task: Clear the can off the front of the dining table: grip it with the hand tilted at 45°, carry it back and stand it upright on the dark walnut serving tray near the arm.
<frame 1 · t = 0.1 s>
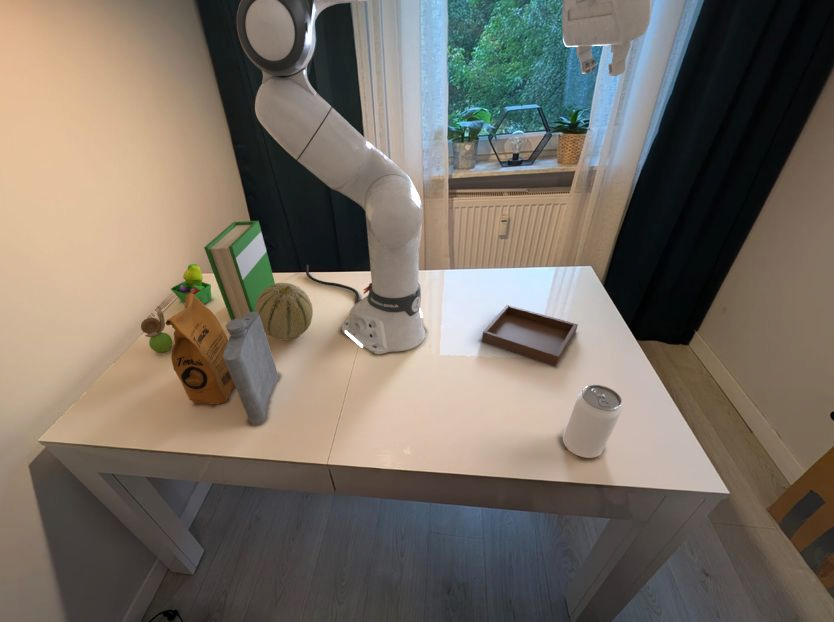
hand: (601, 73, 65), 52 cm above the table, tool tilted 20°, fingers open, 8 cm apart
cantaloupe: (290, 334, 102), on the table
can: (581, 444, 68), on the table
fruit basket: (198, 300, 122), on the table
coffee package: (217, 388, 88), on the table
hip flask: (263, 398, 84), on the table
hardback book: (257, 311, 114), on the table
tray: (528, 337, 93), on the table
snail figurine: (167, 350, 102), on the table
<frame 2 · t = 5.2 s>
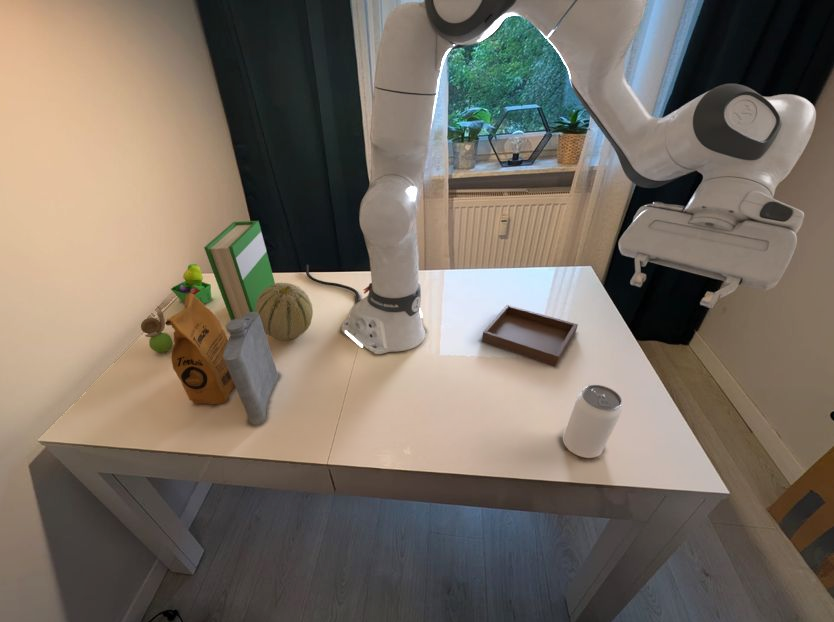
hand: (668, 294, 58), 25 cm above the table, tool tilted 45°, fingers open, 8 cm apart
nothing on the table moved.
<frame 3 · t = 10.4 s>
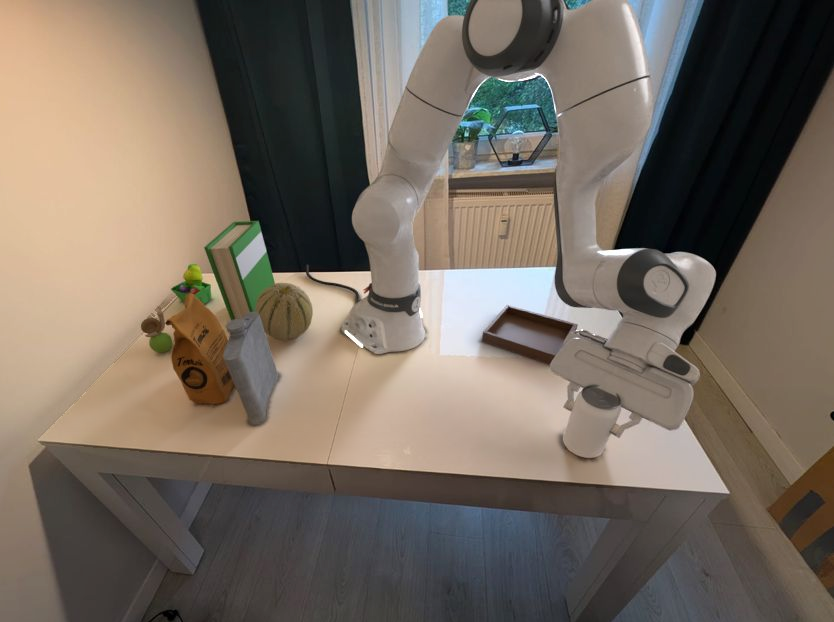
hand: (590, 422, 63), 6 cm above the table, tool tilted 45°, fingers closed on can, 6 cm apart
can: (581, 445, 68), on the table, touching gripper
everything else where it was.
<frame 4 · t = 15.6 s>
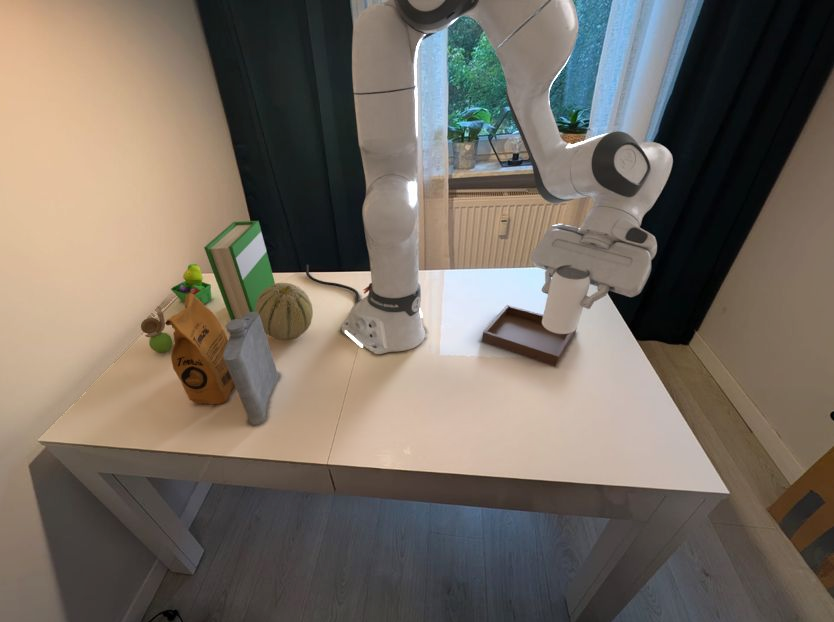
hand: (564, 299, 72), 18 cm above the table, tool tilted 45°, fingers closed on can, 6 cm apart
can: (558, 326, 76), point 12 cm above the table, touching gripper
everything else where it was.
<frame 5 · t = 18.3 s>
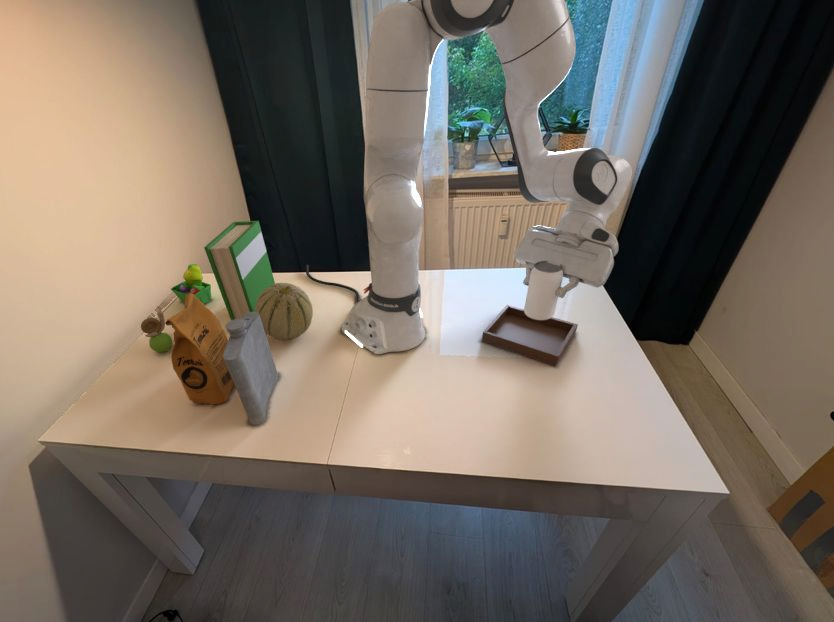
hand: (542, 290, 84), 14 cm above the table, tool tilted 45°, fingers closed on can, 6 cm apart
can: (538, 314, 88), point 7 cm above the table, touching gripper
everything else where it was.
when the fingers open (7 cm above the table, at t = 20.7 s): can stays where it is, resting on tray.
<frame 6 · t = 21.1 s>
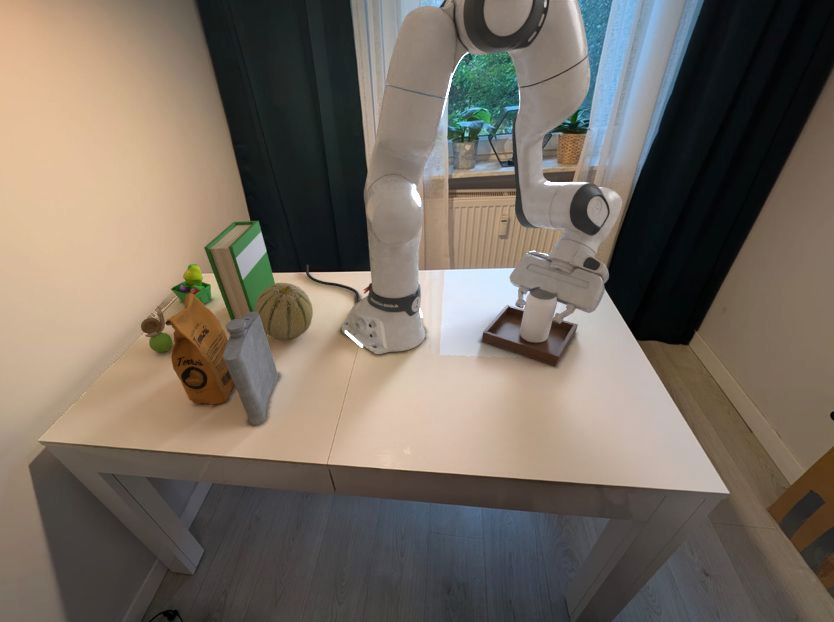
hand: (536, 314, 87), 7 cm above the table, tool tilted 45°, fingers open, 8 cm apart
can: (533, 336, 92), point 1 cm above the table, touching tray
everything else where it was.
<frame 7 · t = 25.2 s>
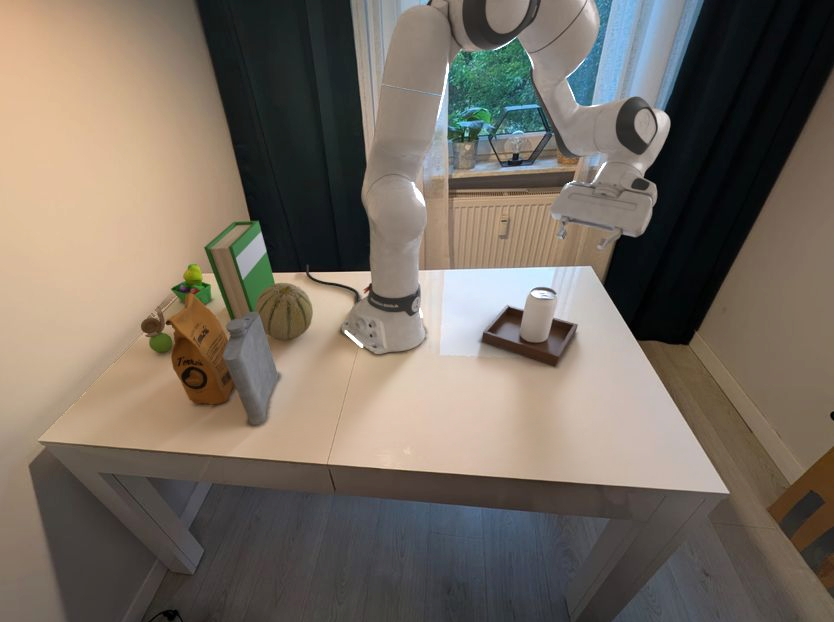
hand: (579, 242, 85), 21 cm above the table, tool tilted 45°, fingers open, 8 cm apart
nothing on the table moved.
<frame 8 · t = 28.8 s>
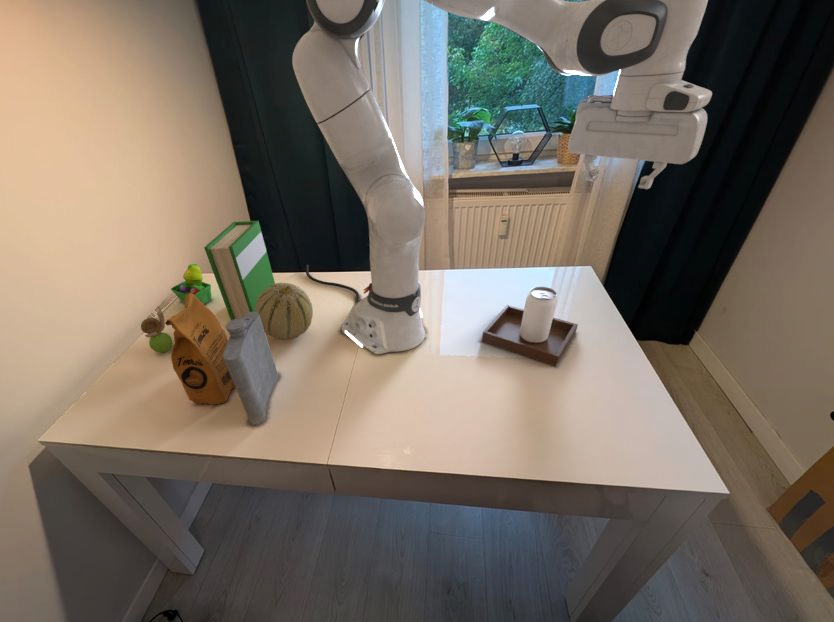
hand: (616, 183, 70), 35 cm above the table, tool pointing down, fingers open, 8 cm apart
nothing on the table moved.
at the end: can inside the target area in the tray (1.0 cm from its centre), point 0.6 cm above the tray's base; can tilted 0°; the gripper is holding nothing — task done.
